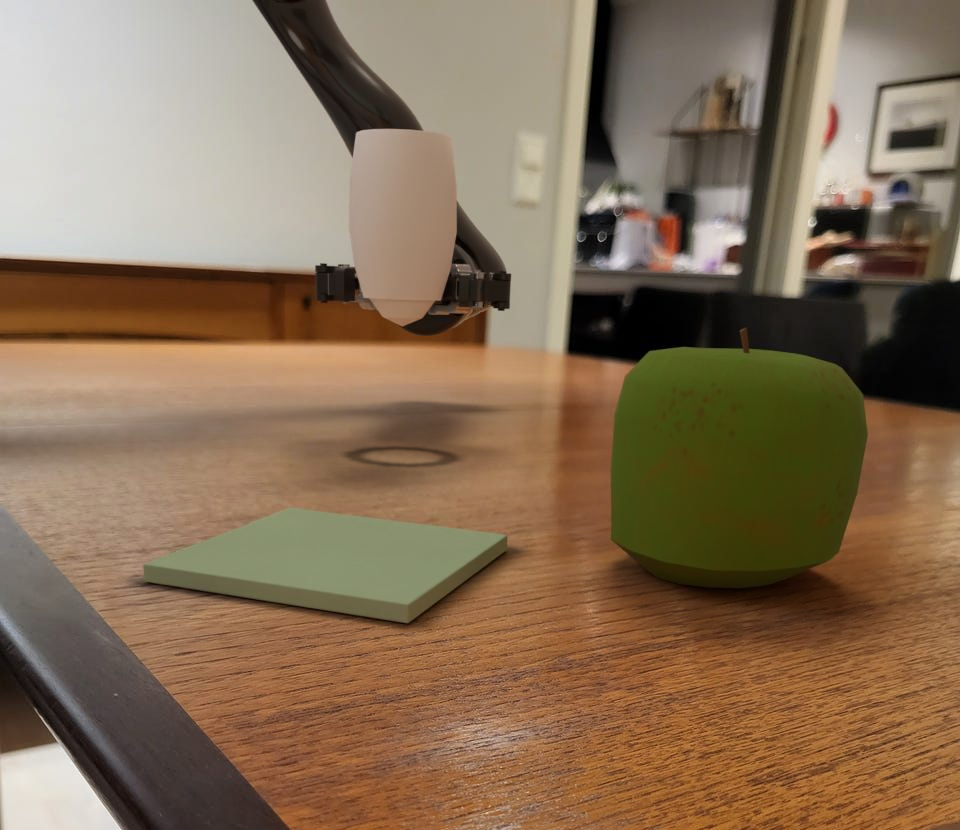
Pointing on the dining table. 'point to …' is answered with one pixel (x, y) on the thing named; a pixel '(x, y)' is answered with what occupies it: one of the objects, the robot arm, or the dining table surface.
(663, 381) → the apple
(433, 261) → the white rounded shell
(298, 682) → the dining table surface
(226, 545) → the drink mat
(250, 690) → the dining table surface
